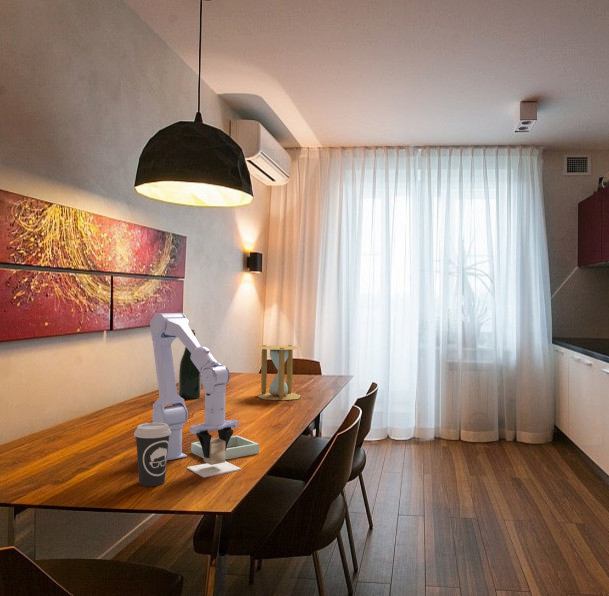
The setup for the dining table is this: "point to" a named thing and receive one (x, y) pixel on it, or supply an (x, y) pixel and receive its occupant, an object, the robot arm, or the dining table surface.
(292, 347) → the hourglass
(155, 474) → the coffee cup
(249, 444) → the pale grey-green open frame
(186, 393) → the dark green wine bottle
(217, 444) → the ash block
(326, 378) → the dining table surface
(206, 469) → the white mat
